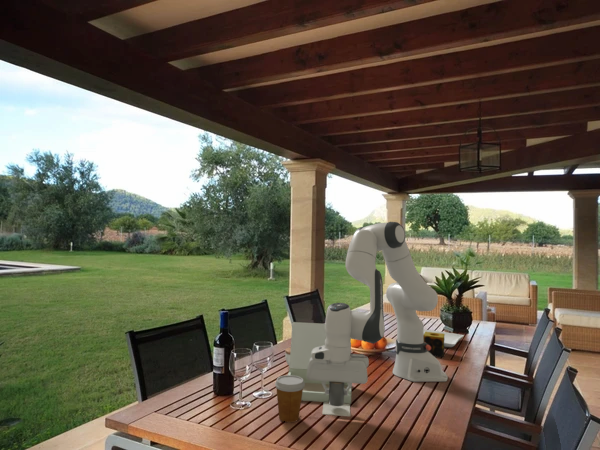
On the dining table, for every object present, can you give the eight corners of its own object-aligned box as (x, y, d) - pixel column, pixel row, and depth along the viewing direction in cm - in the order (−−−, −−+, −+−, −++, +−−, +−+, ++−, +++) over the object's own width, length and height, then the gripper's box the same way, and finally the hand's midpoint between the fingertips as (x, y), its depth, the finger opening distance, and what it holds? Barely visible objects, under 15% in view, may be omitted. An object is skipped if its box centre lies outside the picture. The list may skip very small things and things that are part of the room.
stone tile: (349, 406, 136) (349, 404, 136) (350, 418, 127) (350, 415, 127) (323, 404, 137) (323, 402, 137) (322, 416, 128) (322, 413, 128)
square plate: (464, 340, 235) (464, 334, 235) (454, 351, 212) (454, 343, 212) (418, 333, 249) (418, 327, 249) (404, 342, 226) (404, 335, 226)
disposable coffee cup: (281, 409, 133) (282, 372, 133) (308, 414, 129) (309, 377, 129) (268, 421, 124) (269, 382, 124) (296, 427, 120) (297, 387, 121)
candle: (422, 355, 202) (422, 335, 202) (424, 350, 211) (424, 331, 211) (443, 357, 198) (443, 337, 198) (444, 352, 207) (444, 333, 207)
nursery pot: (343, 400, 135) (344, 373, 135) (343, 406, 130) (344, 378, 130) (328, 399, 135) (329, 372, 135) (328, 405, 130) (329, 377, 130)
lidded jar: (306, 372, 170) (307, 350, 170) (282, 370, 172) (282, 348, 173) (310, 364, 181) (311, 344, 181) (287, 362, 183) (288, 342, 183)
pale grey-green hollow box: (349, 380, 162) (350, 324, 162) (351, 405, 137) (352, 339, 138) (291, 376, 164) (292, 321, 165) (282, 400, 140) (284, 335, 141)
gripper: (368, 351, 135) (367, 393, 135) (308, 348, 137) (307, 388, 137) (369, 357, 129) (368, 400, 128) (306, 353, 131) (305, 396, 130)
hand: (336, 394), depth 133 cm, fingers closed on nursery pot, 5 cm apart
